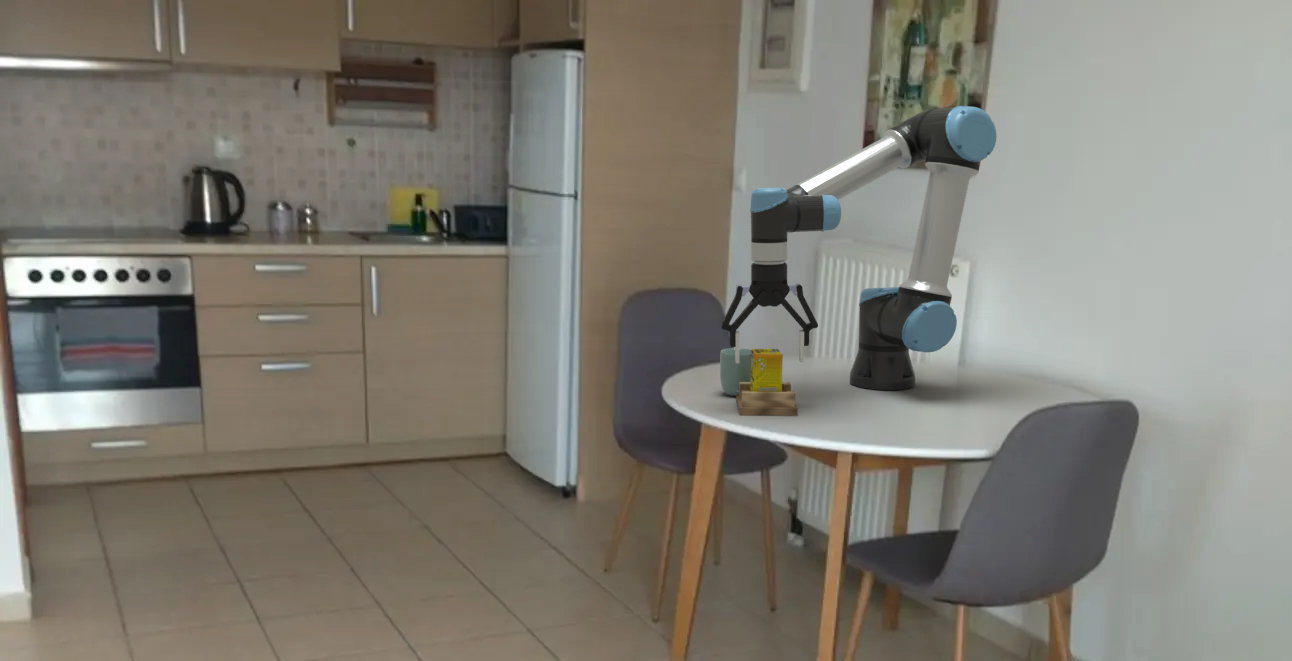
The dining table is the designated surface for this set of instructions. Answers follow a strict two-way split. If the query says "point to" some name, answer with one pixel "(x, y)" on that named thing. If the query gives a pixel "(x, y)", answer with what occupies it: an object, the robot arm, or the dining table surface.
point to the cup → (734, 369)
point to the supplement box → (766, 370)
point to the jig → (766, 401)
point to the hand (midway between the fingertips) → (769, 361)
